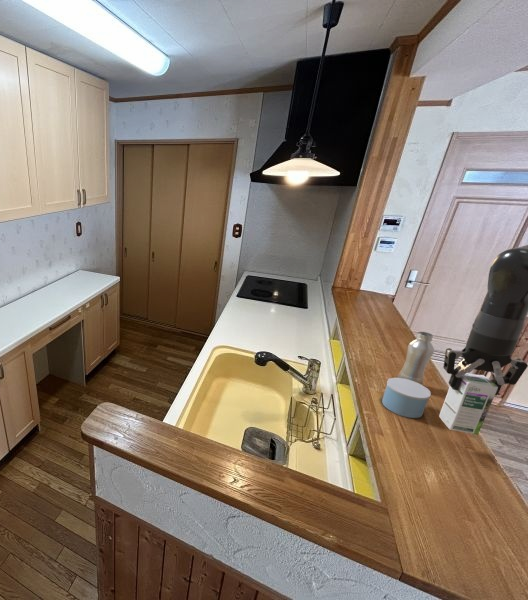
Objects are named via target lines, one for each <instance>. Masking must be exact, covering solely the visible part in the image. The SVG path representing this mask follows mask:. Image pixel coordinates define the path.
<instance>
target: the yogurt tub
mask: <svg viewBox="0 0 528 600" xmlns="http://www.w3.org/2000/svg"><path fill="white" fill-rule="evenodd" d="M431 396H432V392H431V391H430V389H429V388H427V387H426V386H425V385H423V384H422V385H421V384H419V383H417V382H414V381H411V380H408V379H403V378H398V377H390V378H388V379H387V380H386V387H385V389H384V393H383V395H382V399H381V402H382V405H383V406H384V407H385V408H386V409H387V410H389V411H390V412H392V413H394V414H396V415H398V416H401V417H405V418H409V419H419V418H422V416H423V414H424V412H425V410H426V406H427V404H428V401H429V399H430V397H431Z"/></svg>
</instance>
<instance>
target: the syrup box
mask: <svg viewBox="0 0 528 600" xmlns="http://www.w3.org/2000/svg"><path fill="white" fill-rule="evenodd" d="M461 378H462V380H461V382H460V385H459V388H458V390H453V389H452V388H451V386H450V385H449V387H448V390H447V393H446V396H445V399H444V401H443V404H442V406H441V409H440V411H439V415H438V416H439V418H440V420H441V421H442V422H443V423H444V425H445V426H446V427H447V429H448V430H450V431H455V432H461V433H466V434H470V435H471V434H472V435H475V436H477V435H479V433H480V431H481V429H482V426H483V424H484V422H485V419H486V417H487V415H488V412H489V410H490V408H491V405H492V403H493V400H494V398H495V396H496V395H495V394H496V391H497V389H498V387H497V386H496V385H495V384H494V383H493V382H492V381H491V380H492V379H490V378H489V377H487V376H485V375H484V374H474V373H466V374H465V375H464V376H462V377H461Z"/></svg>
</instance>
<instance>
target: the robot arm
mask: <svg viewBox="0 0 528 600" xmlns="http://www.w3.org/2000/svg"><path fill="white" fill-rule="evenodd" d="M527 316H528V244H526V245H522V246H518V247H513V248H509V249H506V250H504V251H502V252H500V253H499V254H497V256H496V257H495V258H494V260H493V261H492V263H491V265H490V268H489V272H488V279H487V291H486V294H485V297H484V299H483V302H482V304H481V307H480V309H479V312H478V313H477V315H476V317H475V319H474V321H473V323H472V326H471V330H470V333H469V334H468V338H467V340H466V344H465V347H464V348H463V349H461V350H457V349H456V350H455V349H452V348H451V347H450V348H446V349H445V353H444V361H443V369H444V371H445V372H446V373H447V374H449V375H450V377H449V380H448V385H449V387H450V386H451V388H452V389H453V390H458V388H459V385H460V382H461V380H462V378H461V377H462V376H464V375H465V374H466V373H468V374H471V372H472V371H475V370H476V371H484V372H487V373H490V375H491V378H492V379H490V380H491V381H492V382H493V383H494V384H495V385H496V386H497V387H498V389H497V391H496V394H495V396H498V395H499V393H500V391H501V389H502V387H503V385H510V386H514V385H516V384H517V382H519V380H520V378H521V377H522V376H523V374H524V373H525V372H526V370H527V368H528V363H527V362H525V361H524V360H523V359H521V358H512V356H511V355H513V354H514V351H515V349H516V346H517V344H518V342H519V339H520V336H521V335H522V332H523V330H524V328H525V321H526V318H527ZM460 357H462V358H463V359H461V361H460V362H459V361H458V364H457V365H456V366H455V364H456V360H458V359H459V358H460ZM507 365H509V368H508V369H507V371H506V372H505V374H503V370H502V368H504V367H505V366H507Z"/></svg>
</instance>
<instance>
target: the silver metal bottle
mask: <svg viewBox="0 0 528 600" xmlns="http://www.w3.org/2000/svg"><path fill="white" fill-rule="evenodd" d="M416 334H417V335H416V339H414V340H412V341H410V342H409V343H408V345H407V349H406V350H407V351H406V356H405V361H404V363H403V366H402V368H401V369H400V371H399V372H398V374H397V378H403V379H408V380H411V381H414V382H417V383H419V384H421V385H423V383H424V375H425V371H426V368H427V366H428V364H429V361H430V360H431V358H432V357H433V355H434V353H435V348H434V346H433V344H432V341H433V338H434V335H433V334H432V333H429V332H427V331H418V332H417V333H416Z"/></svg>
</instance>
